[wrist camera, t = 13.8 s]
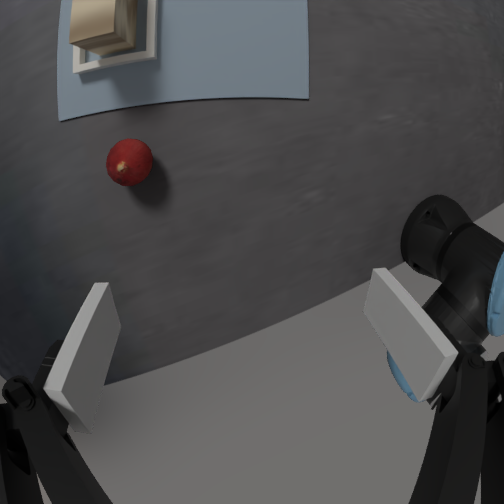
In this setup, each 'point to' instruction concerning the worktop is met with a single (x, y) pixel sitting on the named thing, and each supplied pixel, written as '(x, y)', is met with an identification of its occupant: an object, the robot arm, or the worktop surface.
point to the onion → (129, 162)
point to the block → (103, 25)
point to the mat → (195, 56)
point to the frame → (149, 54)
